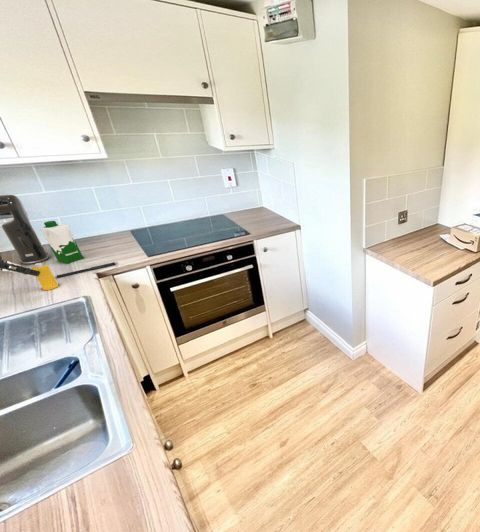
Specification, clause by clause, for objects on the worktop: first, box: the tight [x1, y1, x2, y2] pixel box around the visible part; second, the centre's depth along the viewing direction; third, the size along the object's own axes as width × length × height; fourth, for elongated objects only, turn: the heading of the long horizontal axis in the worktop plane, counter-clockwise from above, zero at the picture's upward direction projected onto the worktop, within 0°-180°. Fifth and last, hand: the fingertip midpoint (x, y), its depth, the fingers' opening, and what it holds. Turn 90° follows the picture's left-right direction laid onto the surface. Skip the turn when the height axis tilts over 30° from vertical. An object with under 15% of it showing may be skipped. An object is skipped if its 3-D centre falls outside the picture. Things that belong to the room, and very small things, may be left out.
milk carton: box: [39, 220, 84, 264], centre depth 160 cm, size 9×9×20 cm
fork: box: [56, 261, 116, 279], centre depth 155 cm, size 3×21×1 cm, turn 133°
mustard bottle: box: [31, 262, 59, 291], centre depth 138 cm, size 5×5×12 cm
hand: (32, 272), depth 134 cm, fingers open, 8 cm apart
